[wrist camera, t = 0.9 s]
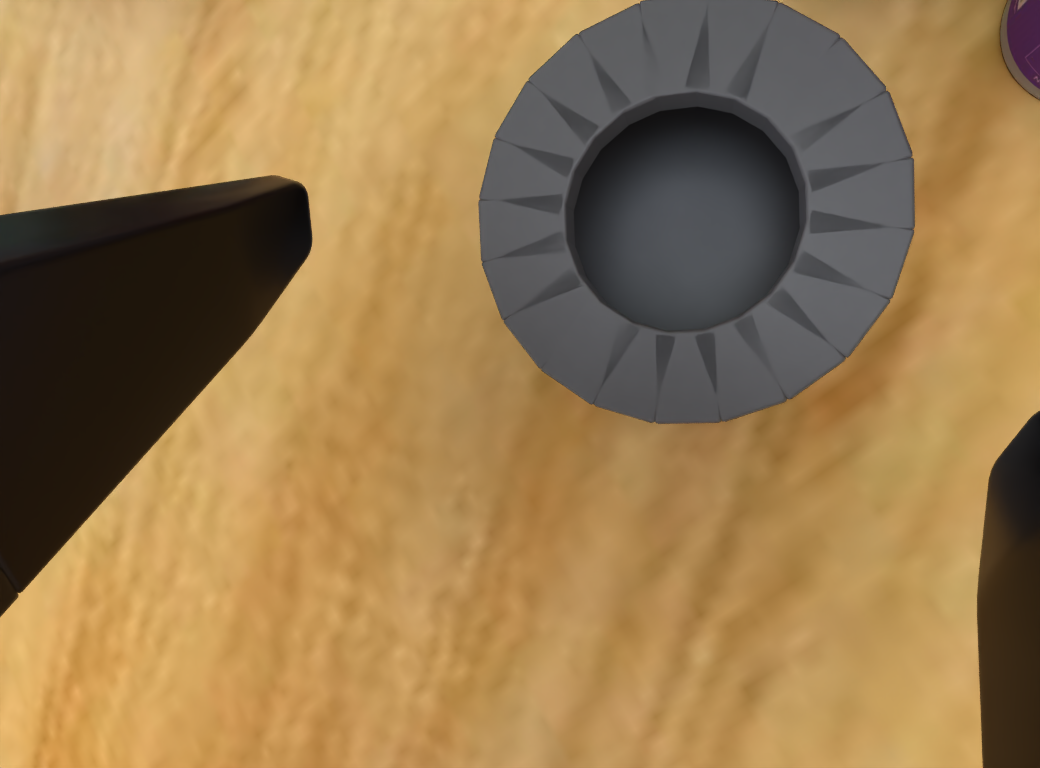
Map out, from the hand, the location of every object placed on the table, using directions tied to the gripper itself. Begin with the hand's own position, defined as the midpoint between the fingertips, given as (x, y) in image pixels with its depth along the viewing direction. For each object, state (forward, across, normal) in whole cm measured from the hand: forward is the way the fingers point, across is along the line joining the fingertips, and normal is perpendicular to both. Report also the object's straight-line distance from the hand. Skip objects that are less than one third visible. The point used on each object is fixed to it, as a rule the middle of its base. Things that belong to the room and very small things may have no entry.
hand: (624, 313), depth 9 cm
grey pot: (+14, 0, +6) cm, 15 cm away
